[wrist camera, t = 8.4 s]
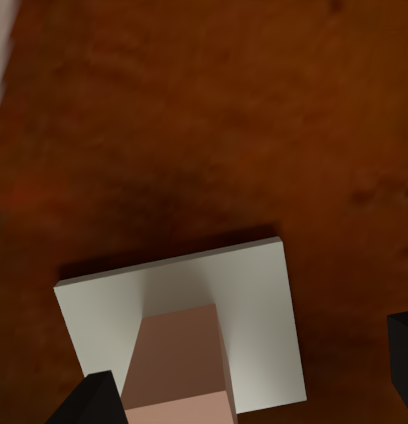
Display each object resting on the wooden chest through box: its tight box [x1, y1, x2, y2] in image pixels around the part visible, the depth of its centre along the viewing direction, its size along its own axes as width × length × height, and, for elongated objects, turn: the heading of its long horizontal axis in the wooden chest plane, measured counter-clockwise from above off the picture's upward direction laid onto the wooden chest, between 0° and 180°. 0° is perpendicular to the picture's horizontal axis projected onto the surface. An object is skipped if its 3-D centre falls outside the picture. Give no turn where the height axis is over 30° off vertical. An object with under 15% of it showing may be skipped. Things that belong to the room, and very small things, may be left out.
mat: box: [54, 236, 307, 414], centre depth 18 cm, size 12×10×1 cm
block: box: [120, 304, 238, 424], centre depth 15 cm, size 4×4×6 cm
